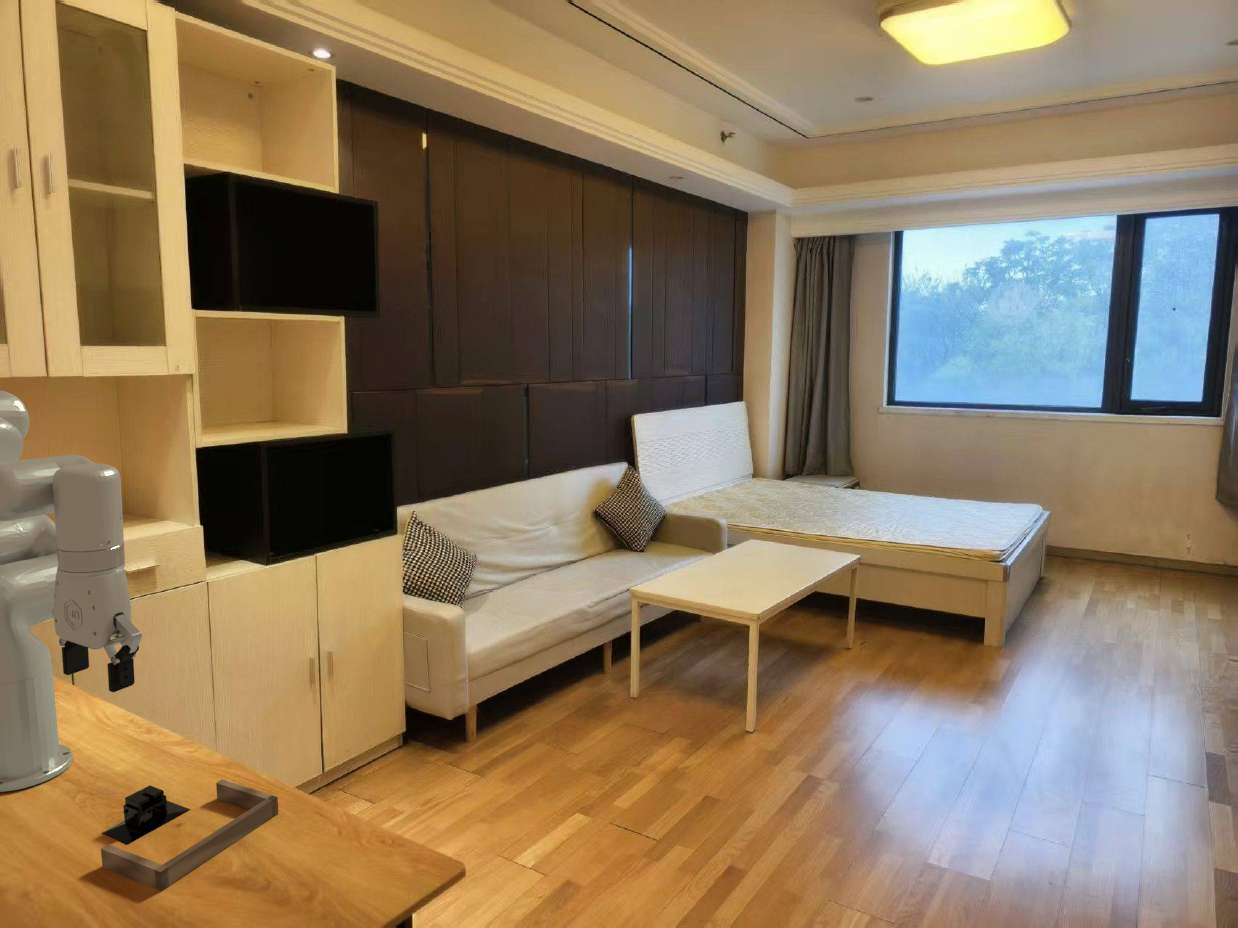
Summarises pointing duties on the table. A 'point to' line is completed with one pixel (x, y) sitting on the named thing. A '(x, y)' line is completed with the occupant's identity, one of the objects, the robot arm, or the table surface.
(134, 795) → the build plate
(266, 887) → the table surface
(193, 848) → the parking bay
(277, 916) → the table surface
